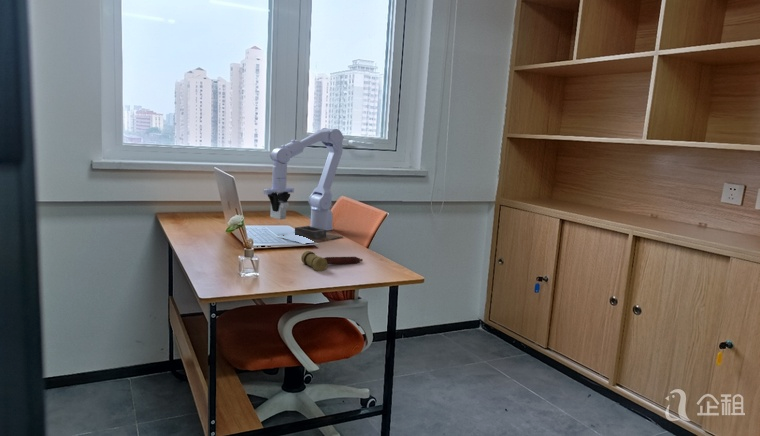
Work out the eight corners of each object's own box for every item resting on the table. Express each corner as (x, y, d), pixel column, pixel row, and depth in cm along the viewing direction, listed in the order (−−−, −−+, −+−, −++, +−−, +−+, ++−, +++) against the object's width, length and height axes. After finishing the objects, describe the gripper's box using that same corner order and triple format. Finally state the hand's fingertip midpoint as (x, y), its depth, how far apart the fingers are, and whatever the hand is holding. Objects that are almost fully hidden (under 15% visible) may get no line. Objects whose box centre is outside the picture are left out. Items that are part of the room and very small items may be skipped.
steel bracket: (275, 216, 226) (276, 199, 225) (288, 219, 222) (288, 202, 220) (270, 217, 224) (270, 200, 223) (282, 220, 219) (283, 203, 218)
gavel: (355, 250, 191) (371, 257, 183) (354, 263, 192) (369, 270, 183) (301, 250, 179) (315, 258, 171) (300, 264, 180) (314, 272, 172)
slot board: (315, 231, 234) (315, 222, 233) (343, 237, 224) (343, 229, 224) (276, 237, 216) (276, 228, 216) (304, 244, 207) (305, 235, 206)
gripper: (286, 176, 228) (285, 207, 231) (259, 177, 217) (258, 210, 219) (297, 178, 224) (296, 210, 226) (270, 179, 213) (269, 213, 215)
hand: (278, 210), depth 223 cm, fingers closed on steel bracket, 3 cm apart
